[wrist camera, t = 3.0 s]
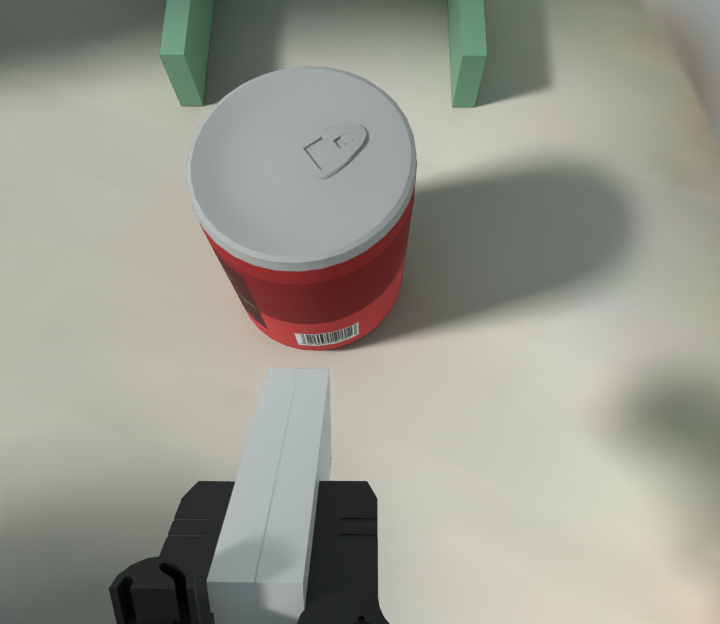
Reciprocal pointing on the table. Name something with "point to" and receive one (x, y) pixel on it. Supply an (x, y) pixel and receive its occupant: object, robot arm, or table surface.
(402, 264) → the canned food
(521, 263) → the table surface
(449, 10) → the green c-shaped bracket
